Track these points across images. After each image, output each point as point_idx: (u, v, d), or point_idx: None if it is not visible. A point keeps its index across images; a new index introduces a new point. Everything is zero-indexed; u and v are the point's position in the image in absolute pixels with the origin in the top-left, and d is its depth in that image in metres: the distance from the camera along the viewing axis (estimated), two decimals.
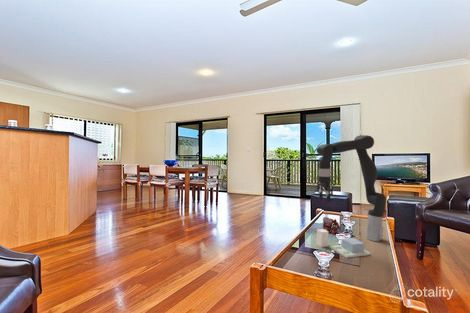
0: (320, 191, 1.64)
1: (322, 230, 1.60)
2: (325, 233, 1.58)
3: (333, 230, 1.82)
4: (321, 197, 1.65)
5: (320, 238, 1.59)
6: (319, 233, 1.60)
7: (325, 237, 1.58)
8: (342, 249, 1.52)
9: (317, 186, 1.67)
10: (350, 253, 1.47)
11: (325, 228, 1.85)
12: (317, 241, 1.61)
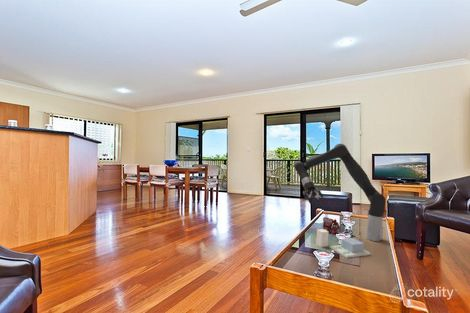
0: (316, 197, 1.79)
1: (322, 230, 1.60)
2: (325, 233, 1.58)
3: (333, 230, 1.82)
4: (320, 201, 1.76)
5: (320, 238, 1.59)
6: (319, 233, 1.60)
7: (325, 237, 1.58)
8: (342, 249, 1.52)
9: None
10: (350, 253, 1.47)
11: (325, 228, 1.85)
12: (317, 241, 1.61)
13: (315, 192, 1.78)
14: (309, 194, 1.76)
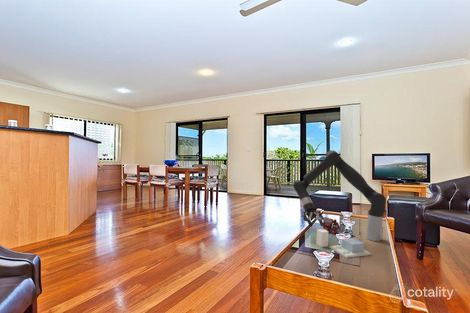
0: (316, 219, 1.71)
1: (322, 230, 1.60)
2: (325, 233, 1.58)
3: (333, 230, 1.82)
4: (321, 223, 1.68)
5: (320, 238, 1.59)
6: (319, 233, 1.60)
7: (325, 237, 1.58)
8: (342, 249, 1.52)
9: None
10: (350, 253, 1.47)
11: (325, 228, 1.85)
12: (317, 241, 1.61)
13: (315, 214, 1.70)
14: (309, 216, 1.68)
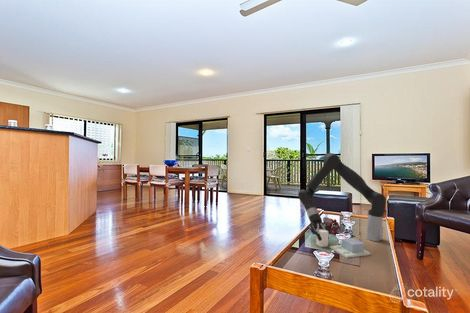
0: None
1: (322, 230, 1.60)
2: (325, 233, 1.58)
3: (333, 230, 1.82)
4: None
5: None
6: (319, 233, 1.60)
7: (325, 237, 1.58)
8: (342, 249, 1.52)
9: None
10: (350, 253, 1.47)
11: None
12: (317, 241, 1.61)
13: (321, 225, 1.63)
14: (316, 229, 1.61)
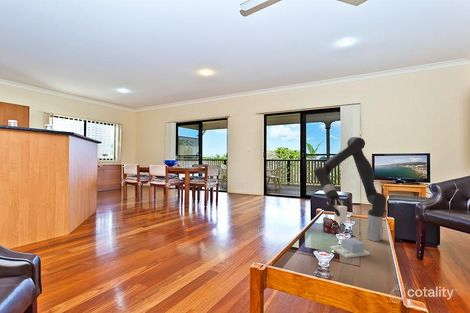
0: None
1: (340, 206, 1.56)
2: (343, 208, 1.54)
3: (333, 230, 1.82)
4: None
5: None
6: (337, 209, 1.56)
7: (343, 213, 1.54)
8: (342, 249, 1.52)
9: None
10: (350, 253, 1.47)
11: (325, 228, 1.85)
12: (335, 217, 1.57)
13: (339, 201, 1.59)
14: (334, 205, 1.57)
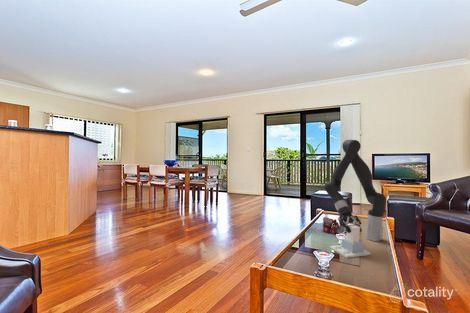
0: (353, 224, 1.57)
1: (353, 225, 1.53)
2: (356, 229, 1.51)
3: (333, 230, 1.82)
4: None
5: (351, 234, 1.51)
6: None
7: (356, 233, 1.51)
8: (342, 249, 1.52)
9: None
10: (350, 253, 1.47)
11: (325, 228, 1.85)
12: (347, 237, 1.54)
13: (352, 218, 1.56)
14: (346, 221, 1.54)
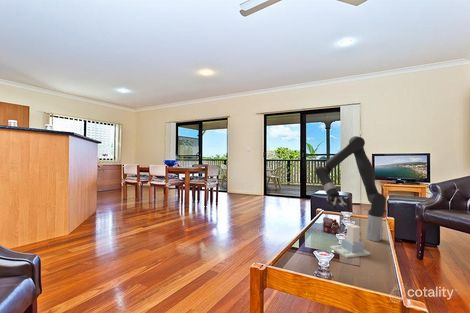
0: (341, 204, 1.68)
1: (353, 225, 1.53)
2: (356, 229, 1.51)
3: (333, 230, 1.82)
4: (345, 209, 1.65)
5: (351, 234, 1.51)
6: (349, 229, 1.53)
7: (356, 233, 1.51)
8: (342, 249, 1.52)
9: None
10: (350, 253, 1.47)
11: (325, 228, 1.85)
12: (347, 237, 1.54)
13: (339, 199, 1.67)
14: (333, 201, 1.65)
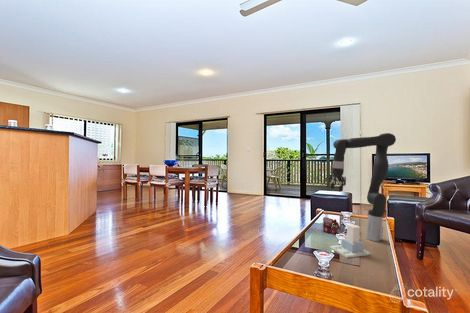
0: (332, 181, 1.80)
1: (353, 225, 1.53)
2: (356, 229, 1.51)
3: (333, 230, 1.82)
4: (332, 187, 1.82)
5: (351, 234, 1.51)
6: (349, 229, 1.53)
7: (356, 233, 1.51)
8: (342, 249, 1.52)
9: (329, 177, 1.83)
10: (350, 253, 1.47)
11: (325, 228, 1.85)
12: (347, 237, 1.54)
13: None
14: (342, 181, 1.75)
